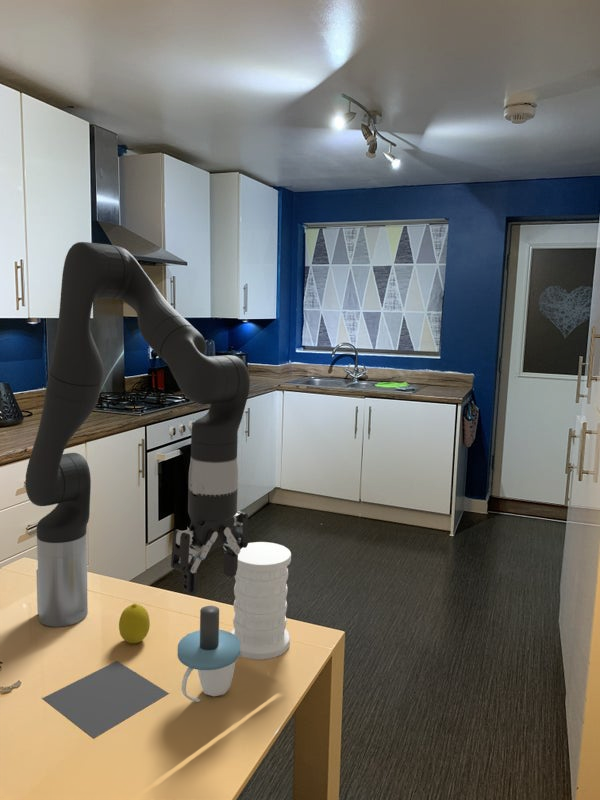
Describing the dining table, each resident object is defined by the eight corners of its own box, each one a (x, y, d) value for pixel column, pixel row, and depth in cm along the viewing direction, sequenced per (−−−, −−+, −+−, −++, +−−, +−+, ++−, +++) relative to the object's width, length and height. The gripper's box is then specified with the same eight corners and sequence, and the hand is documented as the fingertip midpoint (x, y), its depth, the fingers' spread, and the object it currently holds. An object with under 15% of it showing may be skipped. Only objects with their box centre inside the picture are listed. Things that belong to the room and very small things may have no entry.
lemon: (141, 654, 112) (141, 613, 111) (113, 649, 113) (113, 609, 112) (154, 638, 118) (154, 599, 116) (127, 634, 119) (127, 595, 117)
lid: (164, 653, 98) (164, 611, 97) (209, 629, 106) (210, 590, 105) (208, 678, 92) (209, 633, 91) (253, 650, 100) (254, 609, 99)
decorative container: (279, 664, 111) (282, 569, 108) (219, 652, 114) (221, 560, 111) (296, 632, 122) (300, 546, 119) (241, 622, 125) (244, 537, 122)
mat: (42, 701, 98) (42, 698, 98) (117, 663, 109) (116, 660, 109) (93, 742, 90) (93, 738, 89) (169, 696, 100) (169, 693, 100)
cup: (245, 695, 102) (246, 649, 100) (196, 722, 95) (196, 674, 93) (219, 676, 106) (219, 632, 105) (169, 701, 99) (170, 654, 98)
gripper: (228, 471, 103) (225, 563, 105) (160, 489, 92) (159, 591, 94) (262, 481, 98) (258, 577, 101) (195, 501, 87) (192, 608, 90)
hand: (210, 584), depth 98 cm, fingers open, 8 cm apart
